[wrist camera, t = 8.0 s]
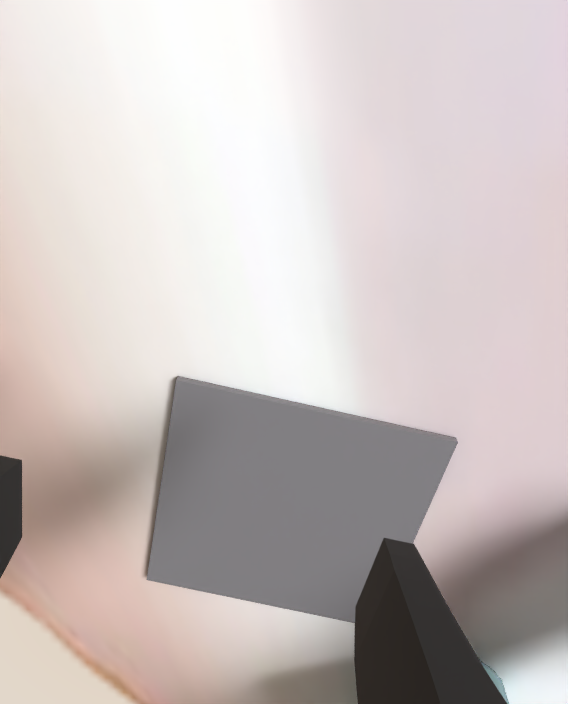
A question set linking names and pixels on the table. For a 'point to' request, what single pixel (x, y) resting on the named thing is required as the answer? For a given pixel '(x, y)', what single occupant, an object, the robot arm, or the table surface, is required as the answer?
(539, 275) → the table surface
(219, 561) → the mat
